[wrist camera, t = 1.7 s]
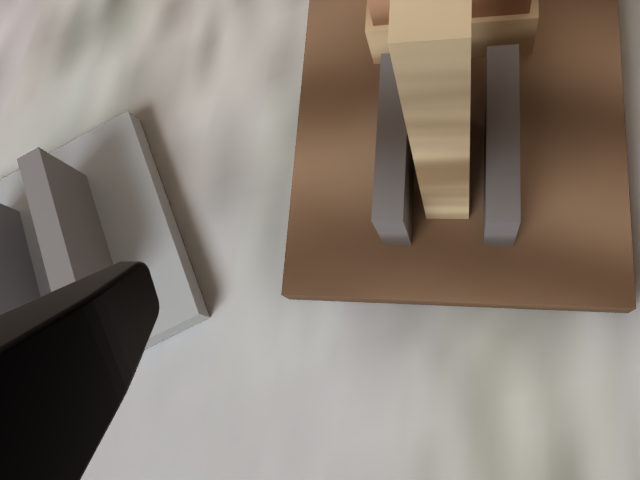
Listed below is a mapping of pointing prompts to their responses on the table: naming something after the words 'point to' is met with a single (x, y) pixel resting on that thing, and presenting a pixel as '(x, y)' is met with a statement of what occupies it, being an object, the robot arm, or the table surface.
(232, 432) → the table surface
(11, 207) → the slate stand
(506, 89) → the offcut rack
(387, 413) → the table surface
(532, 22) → the lower offcut
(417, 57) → the tan wooden block
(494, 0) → the upper offcut
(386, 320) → the table surface
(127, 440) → the table surface
